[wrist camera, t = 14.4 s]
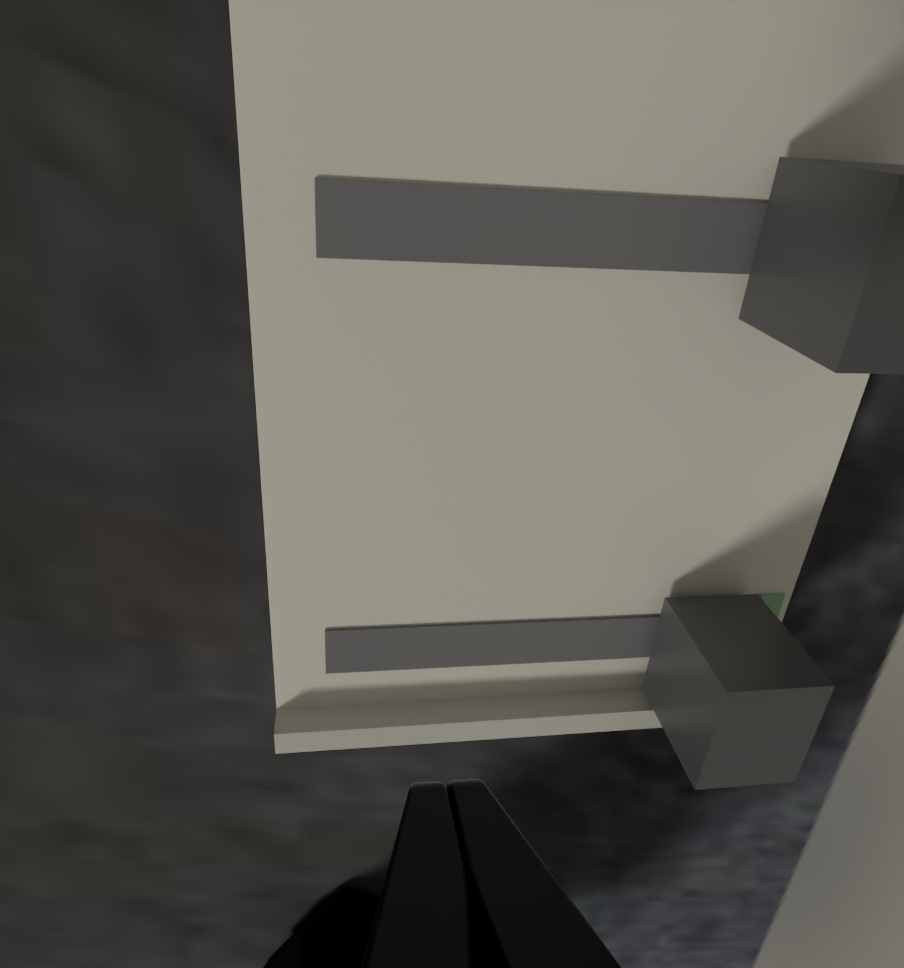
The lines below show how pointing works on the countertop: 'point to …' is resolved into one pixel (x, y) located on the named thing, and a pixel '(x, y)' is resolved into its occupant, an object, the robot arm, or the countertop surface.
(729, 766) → the block
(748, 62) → the switch panel
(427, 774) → the countertop surface
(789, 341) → the block
